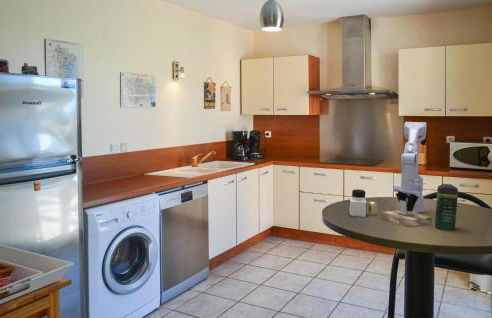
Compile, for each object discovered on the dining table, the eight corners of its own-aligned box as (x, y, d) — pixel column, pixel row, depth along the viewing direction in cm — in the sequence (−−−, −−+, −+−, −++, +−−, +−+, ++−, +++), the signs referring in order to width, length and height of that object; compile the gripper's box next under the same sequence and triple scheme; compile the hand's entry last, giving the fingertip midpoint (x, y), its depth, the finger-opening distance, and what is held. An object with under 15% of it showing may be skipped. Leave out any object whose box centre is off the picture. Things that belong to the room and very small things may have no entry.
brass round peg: (372, 213, 212) (372, 201, 211) (378, 215, 208) (378, 202, 208) (365, 214, 210) (366, 201, 210) (371, 215, 207) (372, 203, 206)
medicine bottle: (366, 217, 204) (367, 191, 202) (350, 216, 205) (351, 190, 204) (365, 213, 211) (366, 188, 209) (349, 212, 212) (350, 188, 211)
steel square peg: (405, 212, 199) (406, 199, 199) (412, 214, 196) (413, 201, 195) (398, 213, 198) (399, 200, 197) (405, 215, 194) (406, 201, 193)
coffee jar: (456, 231, 181) (459, 186, 179) (435, 229, 184) (438, 185, 182) (453, 225, 190) (456, 183, 188) (434, 224, 193) (436, 182, 191)
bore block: (403, 215, 208) (403, 209, 207) (431, 223, 193) (431, 217, 193) (381, 218, 201) (381, 212, 201) (408, 226, 187) (408, 219, 187)
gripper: (389, 177, 200) (387, 207, 201) (414, 182, 187) (412, 214, 188) (400, 177, 203) (399, 206, 205) (426, 181, 190) (424, 212, 192)
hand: (406, 209), depth 197 cm, fingers closed on steel square peg, 4 cm apart
